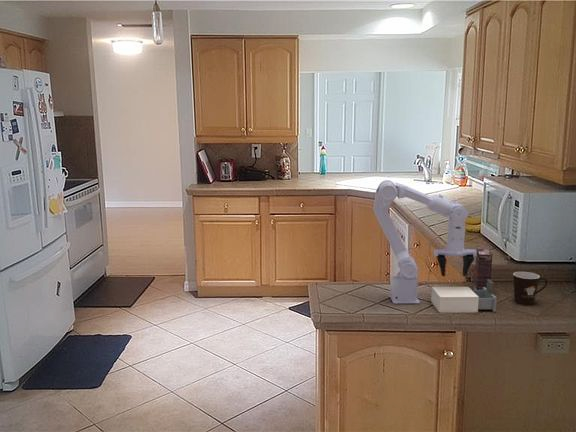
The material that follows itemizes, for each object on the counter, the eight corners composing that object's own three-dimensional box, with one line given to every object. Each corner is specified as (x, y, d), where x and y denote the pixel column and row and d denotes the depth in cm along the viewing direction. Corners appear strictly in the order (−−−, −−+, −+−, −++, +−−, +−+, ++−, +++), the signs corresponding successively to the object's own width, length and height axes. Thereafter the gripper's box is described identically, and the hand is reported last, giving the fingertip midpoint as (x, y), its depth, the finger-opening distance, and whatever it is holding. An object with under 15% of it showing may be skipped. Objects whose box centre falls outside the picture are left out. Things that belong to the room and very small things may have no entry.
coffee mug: (511, 304, 192) (513, 277, 191) (510, 297, 200) (512, 270, 199) (547, 308, 189) (550, 280, 187) (545, 300, 196) (547, 273, 195)
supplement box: (490, 296, 201) (492, 255, 198) (476, 296, 202) (478, 254, 199) (486, 289, 209) (489, 249, 206) (473, 288, 210) (475, 248, 207)
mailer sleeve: (439, 312, 185) (440, 297, 184) (431, 301, 196) (431, 286, 195) (477, 312, 185) (478, 297, 184) (467, 301, 196) (468, 286, 195)
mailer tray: (457, 311, 185) (458, 286, 183) (447, 300, 196) (449, 276, 194) (495, 311, 185) (497, 286, 183) (484, 300, 196) (485, 276, 194)
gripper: (438, 240, 187) (436, 278, 190) (480, 240, 187) (478, 278, 190) (432, 236, 194) (431, 272, 196) (473, 236, 194) (471, 272, 197)
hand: (453, 275), depth 194 cm, fingers open, 7 cm apart
